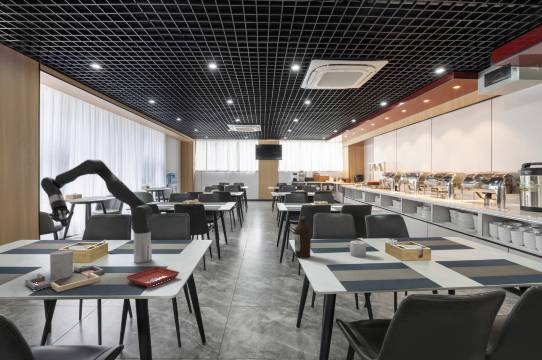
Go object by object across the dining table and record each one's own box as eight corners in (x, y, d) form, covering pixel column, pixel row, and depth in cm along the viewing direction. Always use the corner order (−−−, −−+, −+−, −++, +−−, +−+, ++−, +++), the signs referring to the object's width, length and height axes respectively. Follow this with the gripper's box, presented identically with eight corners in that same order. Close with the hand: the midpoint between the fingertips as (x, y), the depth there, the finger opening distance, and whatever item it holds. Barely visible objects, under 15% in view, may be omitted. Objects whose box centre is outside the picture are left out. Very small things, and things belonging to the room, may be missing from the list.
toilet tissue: (350, 251, 195) (350, 239, 195) (368, 255, 185) (368, 242, 185) (342, 254, 190) (342, 240, 190) (360, 258, 179) (360, 244, 179)
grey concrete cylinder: (77, 274, 151) (77, 250, 151) (57, 280, 143) (57, 255, 143) (66, 271, 155) (65, 248, 155) (45, 277, 147) (45, 253, 147)
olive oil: (305, 253, 191) (305, 215, 191) (314, 257, 181) (314, 217, 181) (291, 255, 187) (291, 216, 186) (299, 259, 177) (299, 218, 177)
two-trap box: (21, 281, 141) (21, 277, 141) (88, 266, 164) (88, 263, 164) (41, 296, 123) (41, 291, 123) (113, 277, 147) (112, 273, 147)
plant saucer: (148, 290, 130) (148, 283, 130) (125, 283, 140) (124, 276, 140) (180, 278, 146) (180, 271, 146) (157, 272, 155) (157, 266, 155)
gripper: (45, 200, 169) (53, 223, 162) (72, 198, 179) (79, 220, 172) (43, 208, 172) (49, 231, 165) (68, 206, 183) (76, 228, 175)
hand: (65, 226), depth 169 cm, fingers closed
